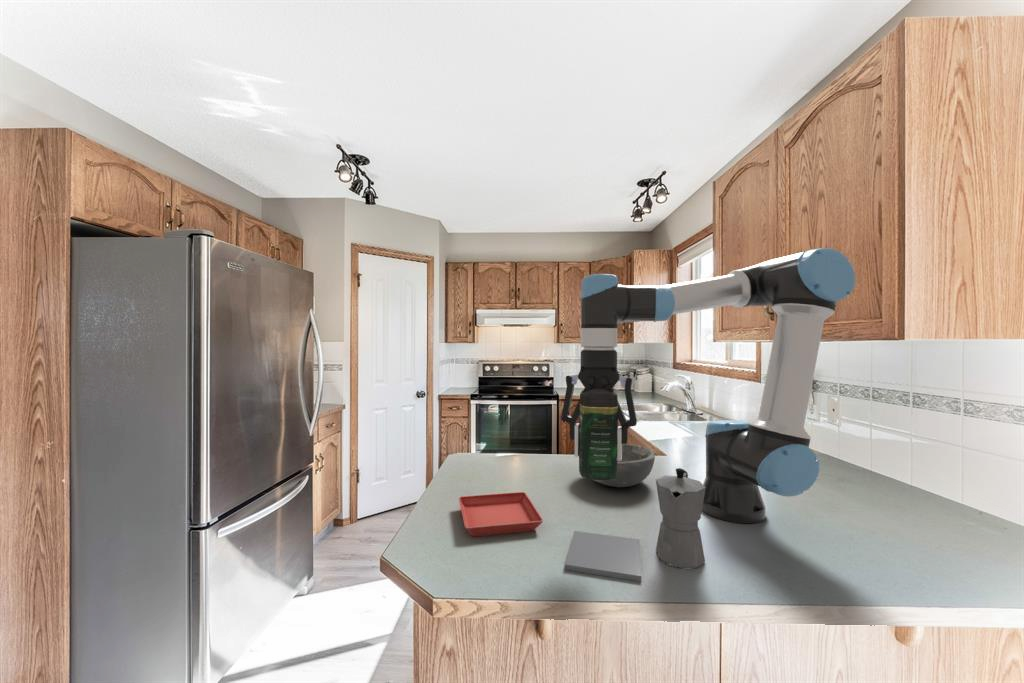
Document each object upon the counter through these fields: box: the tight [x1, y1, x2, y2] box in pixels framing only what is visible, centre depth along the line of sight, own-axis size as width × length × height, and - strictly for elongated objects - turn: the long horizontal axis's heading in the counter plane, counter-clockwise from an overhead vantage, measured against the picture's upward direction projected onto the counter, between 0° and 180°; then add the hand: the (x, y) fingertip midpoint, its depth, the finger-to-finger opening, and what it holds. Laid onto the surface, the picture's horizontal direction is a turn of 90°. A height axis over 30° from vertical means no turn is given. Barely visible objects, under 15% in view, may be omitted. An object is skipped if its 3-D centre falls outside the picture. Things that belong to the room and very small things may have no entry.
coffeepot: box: [655, 467, 706, 569], centre depth 83 cm, size 15×9×18 cm, turn 151°
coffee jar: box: [578, 388, 619, 482], centre depth 85 cm, size 10×8×19 cm
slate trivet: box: [564, 530, 642, 582], centre depth 83 cm, size 14×14×1 cm
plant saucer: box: [458, 491, 544, 537], centre depth 99 cm, size 18×18×3 cm
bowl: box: [595, 443, 656, 488], centre depth 125 cm, size 23×22×10 cm
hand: (598, 456), depth 85 cm, fingers closed on coffee jar, 8 cm apart
